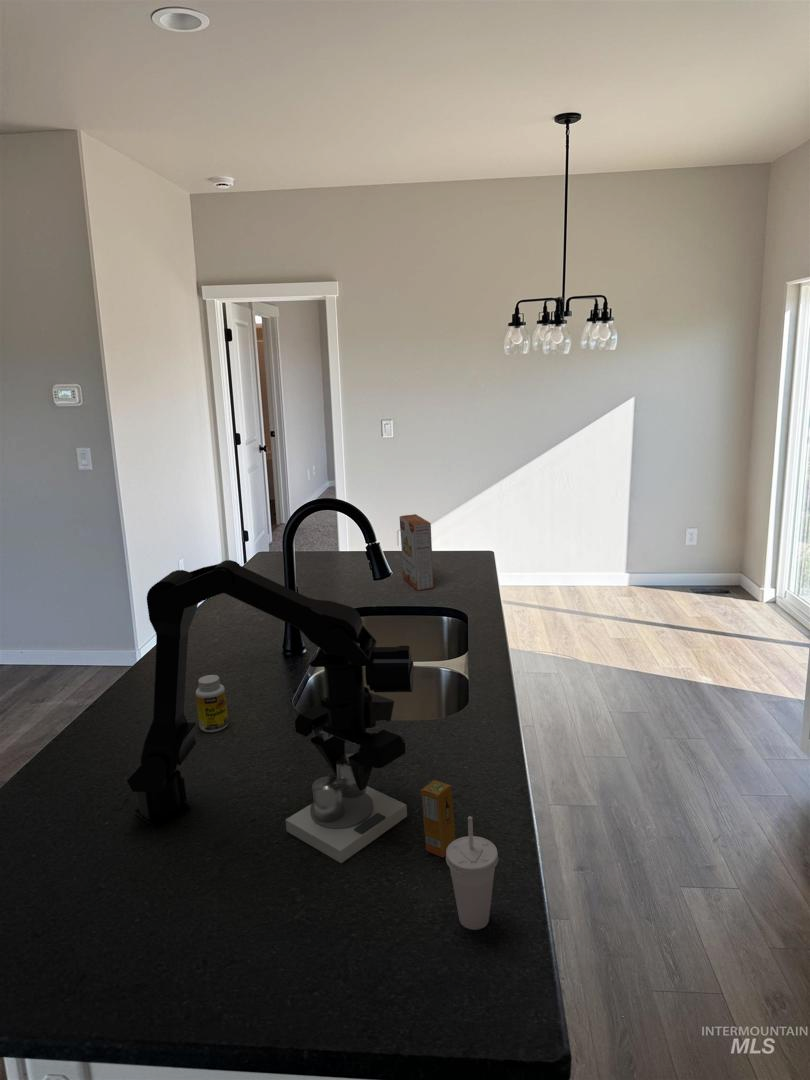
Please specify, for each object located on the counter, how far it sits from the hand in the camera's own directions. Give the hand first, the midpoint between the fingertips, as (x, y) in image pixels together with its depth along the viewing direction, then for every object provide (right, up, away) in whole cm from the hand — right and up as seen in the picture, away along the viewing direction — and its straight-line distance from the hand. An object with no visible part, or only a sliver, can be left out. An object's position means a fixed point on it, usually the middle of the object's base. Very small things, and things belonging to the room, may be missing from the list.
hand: (351, 784), depth 115 cm
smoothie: (+17, -10, -22) cm, 29 cm away
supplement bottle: (-29, +1, +32) cm, 43 cm away
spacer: (-3, -4, -3) cm, 6 cm away
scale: (-1, -6, -1) cm, 6 cm away
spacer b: (0, -1, 0) cm, 1 cm away
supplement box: (+13, -7, -8) cm, 17 cm away
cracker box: (+12, +24, +118) cm, 121 cm away
